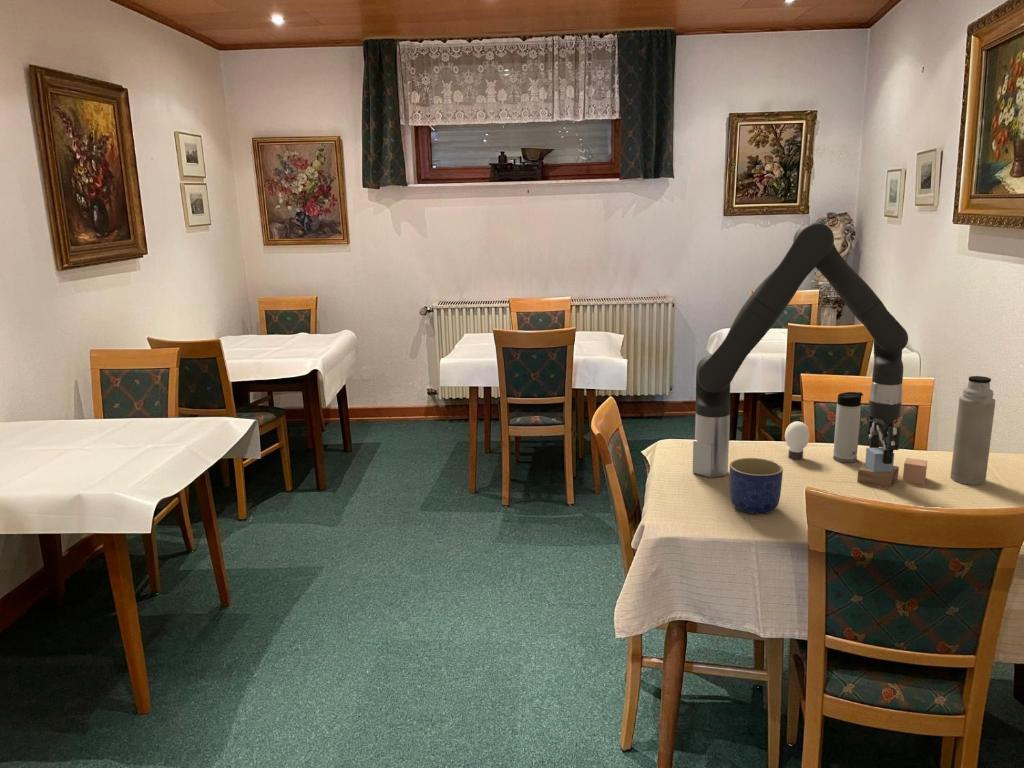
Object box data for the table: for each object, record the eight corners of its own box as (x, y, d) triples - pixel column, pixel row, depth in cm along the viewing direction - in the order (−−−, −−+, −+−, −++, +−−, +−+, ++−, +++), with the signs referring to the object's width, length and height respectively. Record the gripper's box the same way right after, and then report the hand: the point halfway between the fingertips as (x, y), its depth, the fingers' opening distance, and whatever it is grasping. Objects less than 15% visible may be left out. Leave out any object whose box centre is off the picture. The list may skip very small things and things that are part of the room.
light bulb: (783, 460, 215) (785, 424, 213) (784, 452, 221) (786, 417, 219) (807, 462, 213) (810, 425, 210) (808, 454, 219) (810, 419, 216)
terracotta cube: (923, 484, 194) (925, 466, 193) (902, 480, 197) (904, 463, 196) (925, 478, 198) (927, 460, 197) (904, 475, 201) (906, 457, 200)
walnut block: (889, 489, 192) (890, 475, 191) (857, 483, 197) (858, 469, 196) (897, 480, 198) (898, 466, 197) (865, 474, 203) (867, 460, 202)
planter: (731, 495, 191) (732, 455, 188) (782, 501, 186) (784, 460, 184) (725, 514, 180) (726, 472, 177) (779, 520, 175) (781, 477, 172)
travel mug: (860, 463, 210) (865, 395, 206) (835, 462, 212) (840, 395, 207) (854, 456, 216) (860, 390, 212) (831, 455, 218) (835, 389, 213)
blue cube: (892, 471, 193) (894, 453, 192) (873, 472, 194) (874, 454, 192) (883, 464, 198) (885, 447, 197) (865, 465, 198) (866, 447, 197)
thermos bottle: (948, 472, 201) (960, 373, 194) (983, 476, 198) (995, 374, 191) (952, 482, 194) (963, 379, 187) (987, 486, 191) (1000, 381, 184)
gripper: (859, 392, 199) (855, 449, 202) (882, 406, 185) (876, 467, 189) (888, 392, 198) (883, 449, 202) (913, 406, 184) (907, 467, 188)
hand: (880, 457), depth 195 cm, fingers open, 8 cm apart
